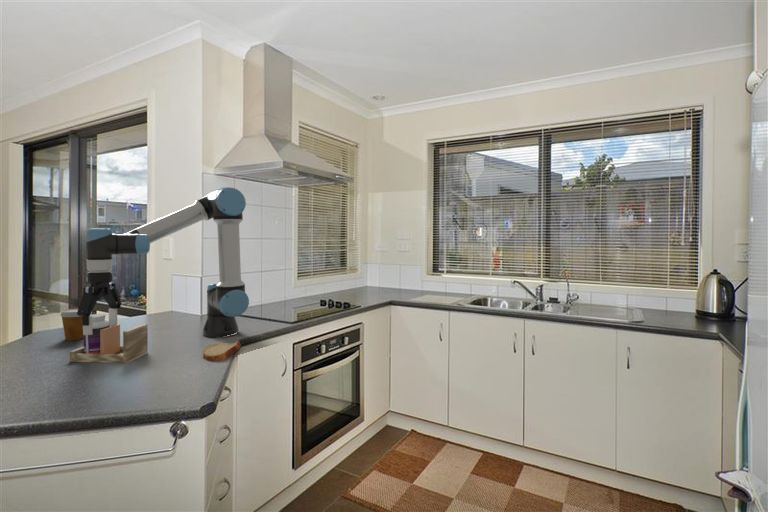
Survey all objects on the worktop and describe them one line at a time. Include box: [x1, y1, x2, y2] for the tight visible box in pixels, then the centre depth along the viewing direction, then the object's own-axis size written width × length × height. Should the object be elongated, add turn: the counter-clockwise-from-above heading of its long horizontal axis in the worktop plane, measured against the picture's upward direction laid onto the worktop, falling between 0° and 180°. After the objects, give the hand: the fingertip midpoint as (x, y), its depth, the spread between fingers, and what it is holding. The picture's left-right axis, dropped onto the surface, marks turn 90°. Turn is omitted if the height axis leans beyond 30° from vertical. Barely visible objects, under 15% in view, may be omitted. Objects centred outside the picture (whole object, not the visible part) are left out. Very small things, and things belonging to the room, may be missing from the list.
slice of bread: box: [202, 340, 242, 363], centre depth 161 cm, size 18×18×4 cm
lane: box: [69, 323, 149, 364], centre depth 152 cm, size 20×12×11 cm, turn 90°
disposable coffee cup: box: [59, 308, 83, 341], centre depth 176 cm, size 10×10×12 cm
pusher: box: [100, 323, 121, 354], centre depth 152 cm, size 1×9×10 cm, turn 0°
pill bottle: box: [82, 313, 110, 354], centre depth 151 cm, size 8×8×14 cm
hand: (101, 330), depth 152 cm, fingers open, 13 cm apart
